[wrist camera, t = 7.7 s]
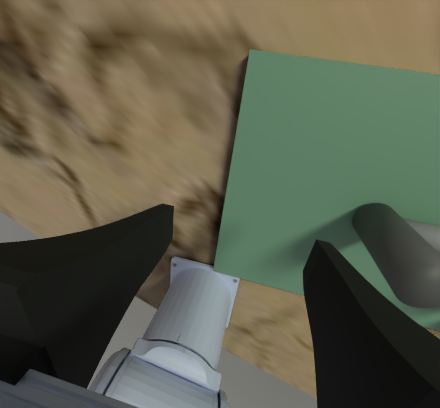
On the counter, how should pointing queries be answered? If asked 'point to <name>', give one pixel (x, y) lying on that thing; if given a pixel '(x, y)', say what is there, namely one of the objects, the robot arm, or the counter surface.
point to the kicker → (402, 253)
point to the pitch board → (326, 166)
